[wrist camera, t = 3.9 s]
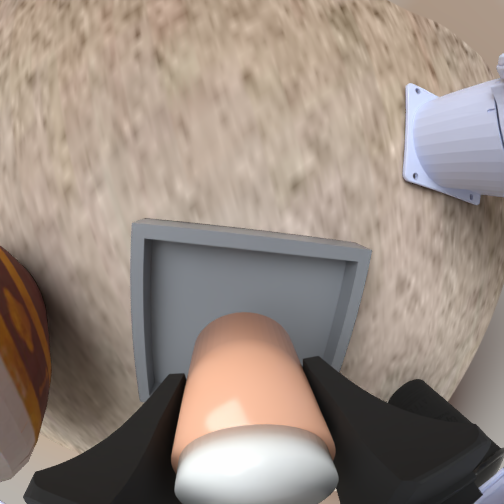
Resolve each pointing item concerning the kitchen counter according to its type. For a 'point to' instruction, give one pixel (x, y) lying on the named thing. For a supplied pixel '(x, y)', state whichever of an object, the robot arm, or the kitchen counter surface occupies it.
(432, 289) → the kitchen counter surface
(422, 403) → the drinking cup
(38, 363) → the jug
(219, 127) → the kitchen counter surface
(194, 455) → the shaker
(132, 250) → the tray
